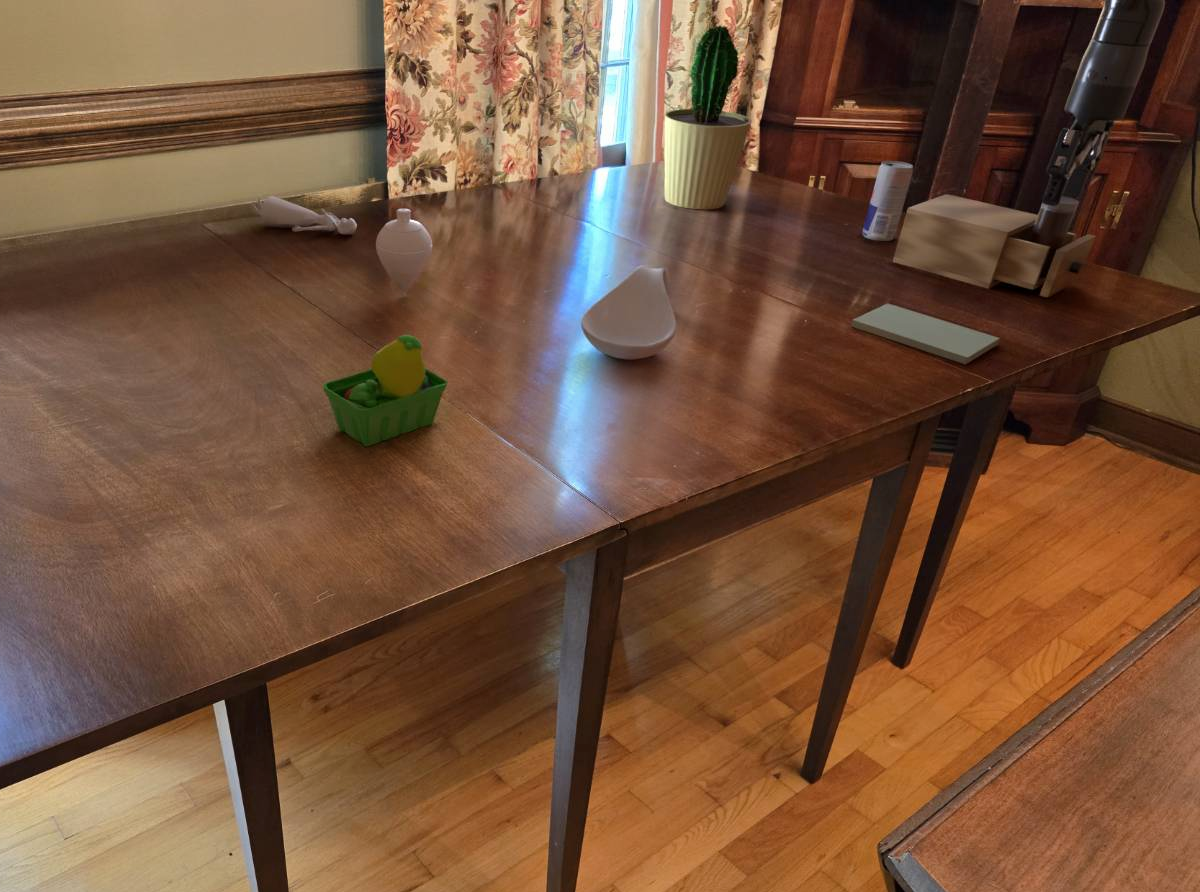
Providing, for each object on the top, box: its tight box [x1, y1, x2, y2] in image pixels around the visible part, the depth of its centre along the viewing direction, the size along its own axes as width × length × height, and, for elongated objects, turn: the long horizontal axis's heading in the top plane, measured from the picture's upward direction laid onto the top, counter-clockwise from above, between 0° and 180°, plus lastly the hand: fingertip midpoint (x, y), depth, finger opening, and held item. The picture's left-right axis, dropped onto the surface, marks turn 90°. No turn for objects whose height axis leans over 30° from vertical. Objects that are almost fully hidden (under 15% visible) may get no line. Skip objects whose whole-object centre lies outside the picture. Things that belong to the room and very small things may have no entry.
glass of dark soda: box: [1028, 195, 1080, 278], centre depth 143 cm, size 5×5×11 cm
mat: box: [850, 303, 1000, 365], centre depth 129 cm, size 16×10×1 cm, turn 43°
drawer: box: [994, 225, 1097, 299], centre depth 146 cm, size 16×12×7 cm
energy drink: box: [862, 160, 914, 242], centre depth 163 cm, size 5×5×12 cm
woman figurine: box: [250, 195, 358, 236], centre depth 157 cm, size 12×4×18 cm
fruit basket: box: [322, 334, 448, 448], centre depth 99 cm, size 11×9×11 cm
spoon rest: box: [580, 264, 677, 361], centre depth 124 cm, size 24×12×7 cm, turn 162°
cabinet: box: [892, 193, 1038, 290], centre depth 152 cm, size 16×14×9 cm
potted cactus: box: [664, 22, 753, 210], centre depth 172 cm, size 15×15×30 cm
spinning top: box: [375, 208, 433, 298], centre depth 131 cm, size 8×8×12 cm
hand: (1060, 199), depth 140 cm, fingers open, 8 cm apart
